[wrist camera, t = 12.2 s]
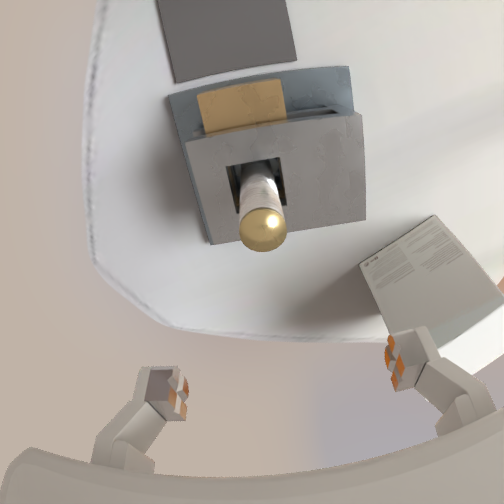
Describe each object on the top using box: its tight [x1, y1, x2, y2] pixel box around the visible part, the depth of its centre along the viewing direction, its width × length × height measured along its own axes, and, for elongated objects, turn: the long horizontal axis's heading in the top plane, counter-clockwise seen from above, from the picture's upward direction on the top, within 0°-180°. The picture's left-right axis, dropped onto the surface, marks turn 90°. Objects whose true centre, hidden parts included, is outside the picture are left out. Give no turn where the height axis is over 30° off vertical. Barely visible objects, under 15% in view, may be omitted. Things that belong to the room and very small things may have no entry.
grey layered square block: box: [168, 66, 366, 245], centre depth 28 cm, size 18×18×8 cm
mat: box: [158, 0, 297, 83], centre depth 22 cm, size 12×12×1 cm
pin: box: [239, 159, 287, 252], centre depth 25 cm, size 3×3×14 cm
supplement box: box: [359, 215, 504, 401], centre depth 33 cm, size 13×13×18 cm
